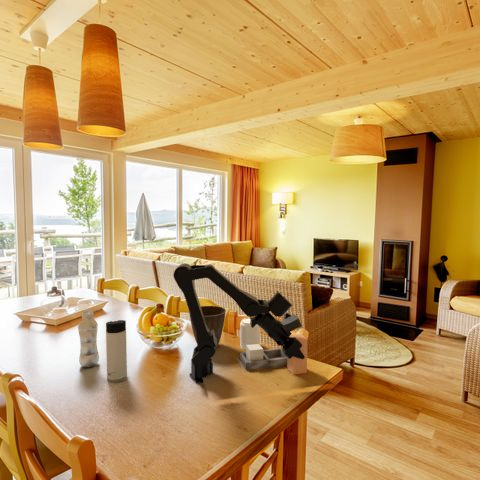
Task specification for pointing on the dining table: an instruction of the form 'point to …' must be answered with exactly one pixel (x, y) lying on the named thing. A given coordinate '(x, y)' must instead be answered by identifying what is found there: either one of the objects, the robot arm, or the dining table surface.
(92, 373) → the dining table surface
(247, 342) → the beverage can
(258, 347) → the cream white block
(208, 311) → the plant pot
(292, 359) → the jaw tall
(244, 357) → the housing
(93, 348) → the plastic bottle
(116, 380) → the travel mug
